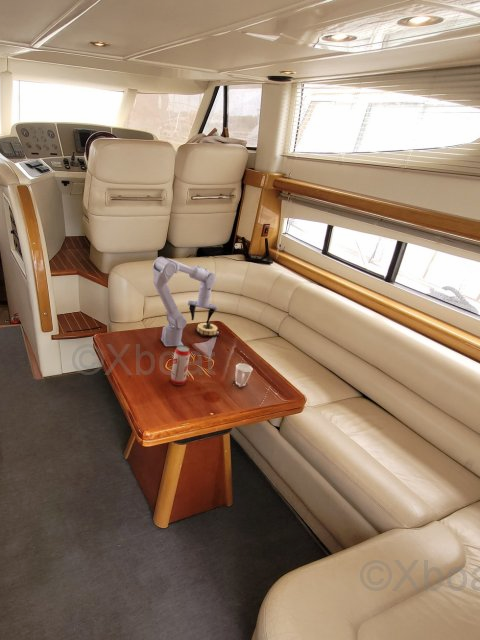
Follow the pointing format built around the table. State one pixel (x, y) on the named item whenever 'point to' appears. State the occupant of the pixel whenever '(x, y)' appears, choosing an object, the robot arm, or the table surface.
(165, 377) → the table surface
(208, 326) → the stand
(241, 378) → the cup
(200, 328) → the yellow gear ring
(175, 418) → the table surface
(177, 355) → the beer can
